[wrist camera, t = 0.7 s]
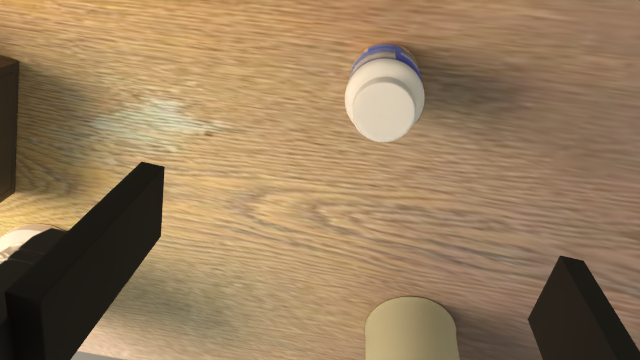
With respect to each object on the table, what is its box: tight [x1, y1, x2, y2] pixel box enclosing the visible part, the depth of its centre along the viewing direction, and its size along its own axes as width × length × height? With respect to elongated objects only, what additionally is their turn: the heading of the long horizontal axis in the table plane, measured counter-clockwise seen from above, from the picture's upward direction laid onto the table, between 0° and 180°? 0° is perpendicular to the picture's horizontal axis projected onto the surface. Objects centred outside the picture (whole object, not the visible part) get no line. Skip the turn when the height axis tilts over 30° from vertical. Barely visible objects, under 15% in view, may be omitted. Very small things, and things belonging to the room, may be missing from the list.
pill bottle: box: [345, 42, 425, 142], centre depth 35 cm, size 5×5×10 cm
